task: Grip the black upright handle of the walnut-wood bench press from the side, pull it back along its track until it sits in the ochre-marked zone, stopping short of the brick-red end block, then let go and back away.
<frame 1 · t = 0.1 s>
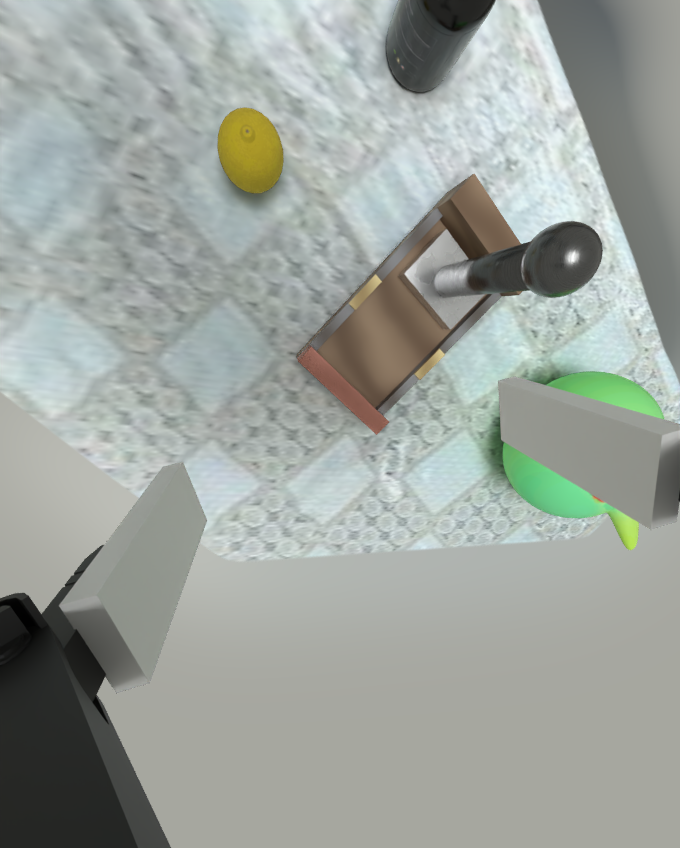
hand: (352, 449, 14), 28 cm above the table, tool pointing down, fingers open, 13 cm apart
toy bird: (539, 428, 49), on the table
supplement bottle: (417, 52, 33), on the table
press handle: (490, 273, 29), point 11 cm above the table, slide at 0.0 cm
press base: (434, 284, 40), on the table
lemon: (254, 172, 34), on the table
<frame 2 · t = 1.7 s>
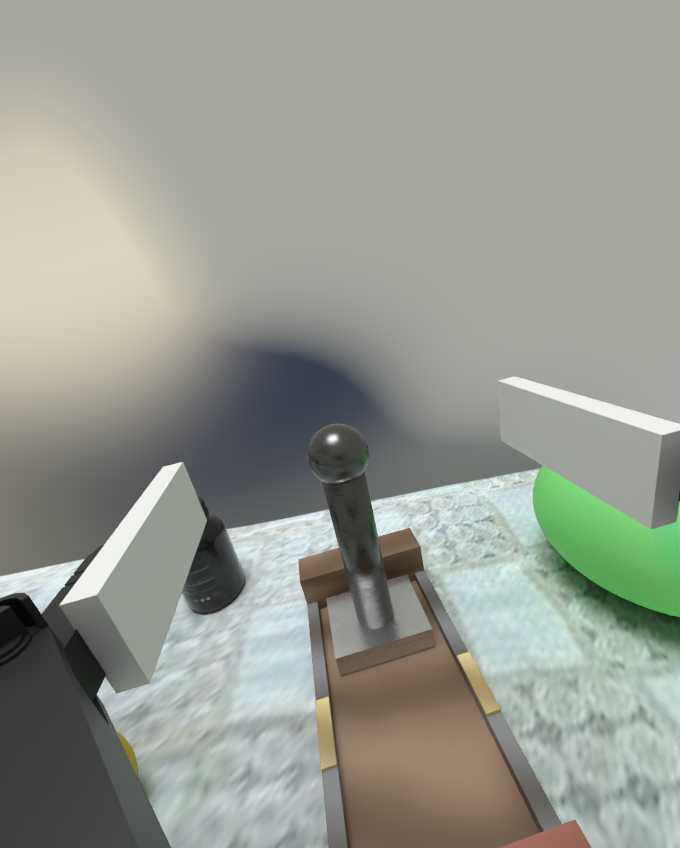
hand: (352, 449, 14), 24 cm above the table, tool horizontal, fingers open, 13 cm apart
toy bird: (645, 572, 32), on the table
supplement bottle: (218, 592, 41), on the table
press handle: (358, 540, 27), point 11 cm above the table, slide at 0.0 cm
press base: (381, 641, 31), on the table
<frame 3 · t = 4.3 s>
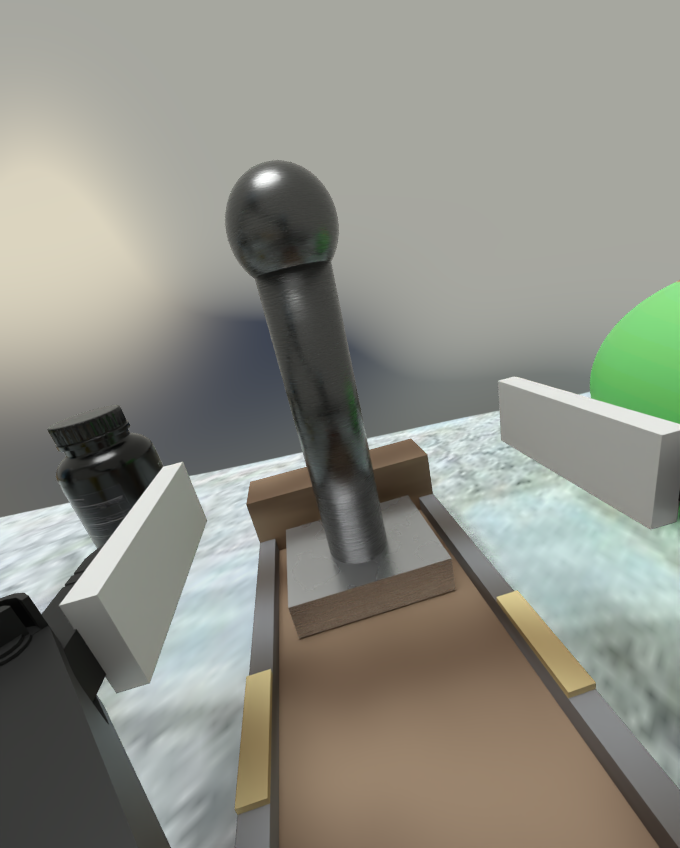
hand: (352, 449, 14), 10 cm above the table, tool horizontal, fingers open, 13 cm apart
supplement bottle: (150, 543, 30), on the table
press handle: (326, 409, 16), point 11 cm above the table, slide at 0.0 cm
press base: (369, 591, 20), on the table
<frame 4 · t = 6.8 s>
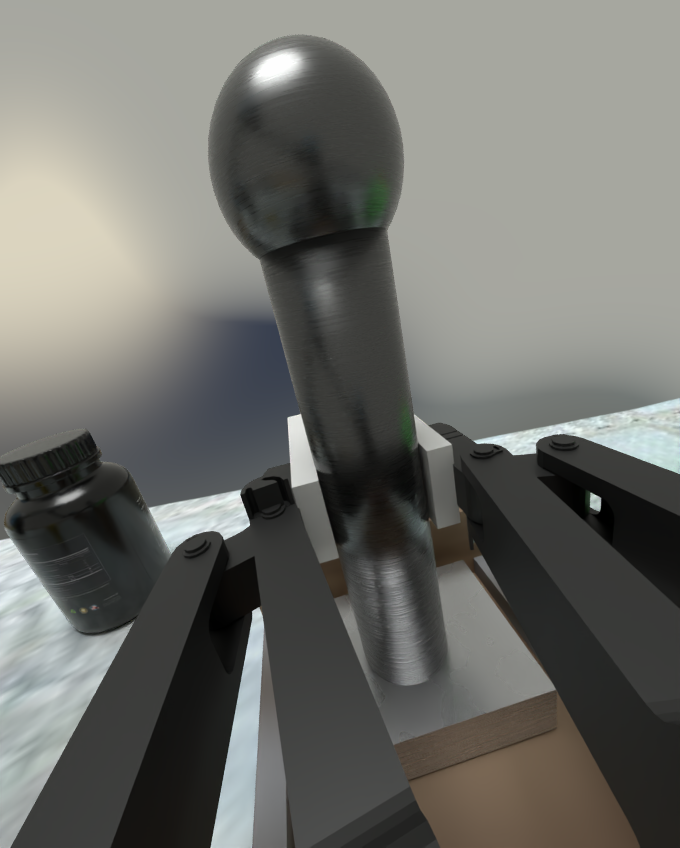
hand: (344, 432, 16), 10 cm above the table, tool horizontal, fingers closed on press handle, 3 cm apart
supplement bottle: (129, 596, 25), on the table
press handle: (367, 463, 11), point 11 cm above the table, slide at 0.0 cm, touching gripper
press base: (416, 701, 15), on the table
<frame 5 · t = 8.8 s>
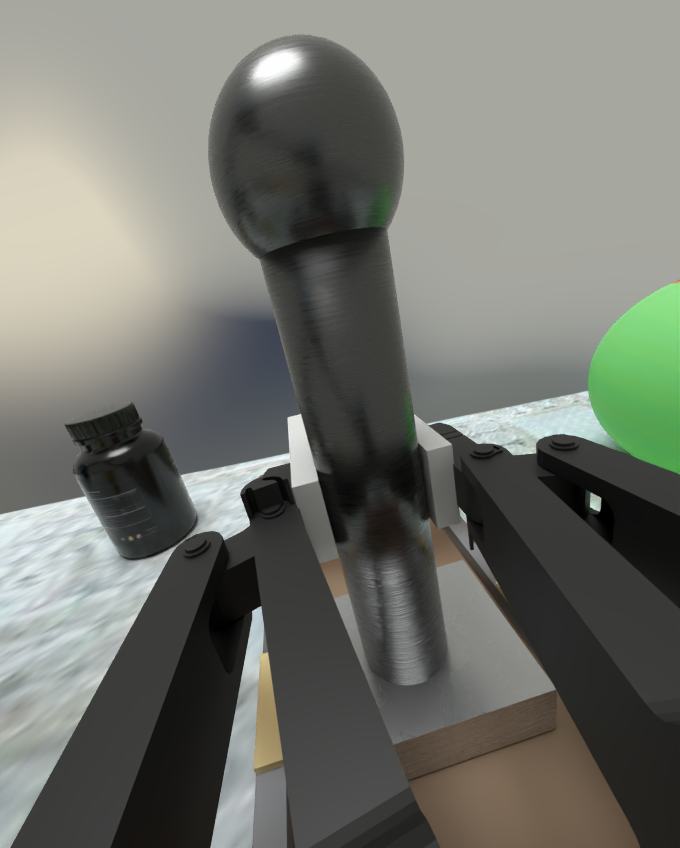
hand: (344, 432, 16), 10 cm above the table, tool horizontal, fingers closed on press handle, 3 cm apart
supplement bottle: (160, 536, 31), on the table
press handle: (367, 463, 11), point 11 cm above the table, slide at 7.0 cm, touching gripper
press base: (374, 579, 21), on the table
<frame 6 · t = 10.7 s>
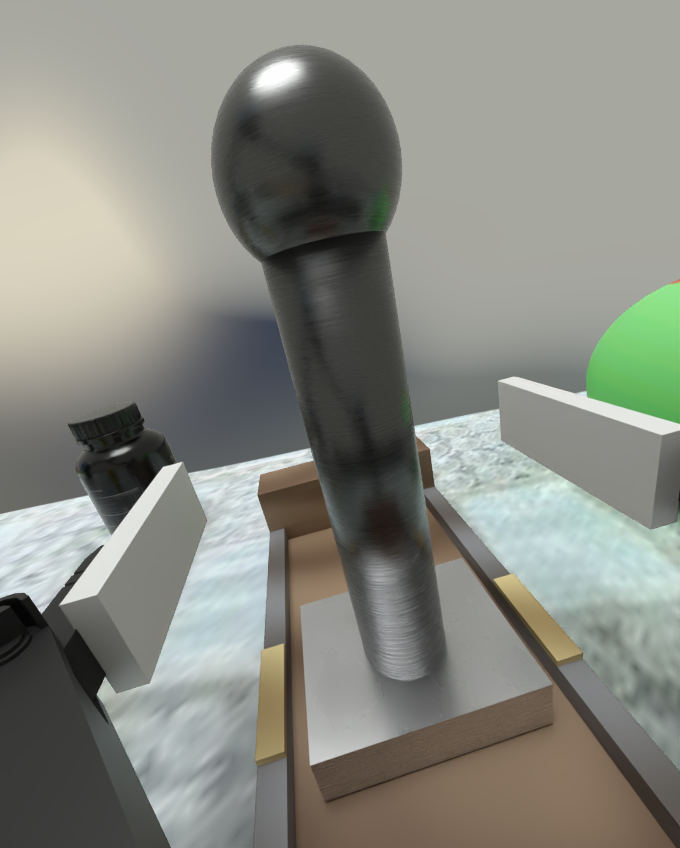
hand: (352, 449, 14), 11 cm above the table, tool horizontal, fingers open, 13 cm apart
supplement bottle: (162, 534, 32), on the table
press handle: (366, 461, 11), point 11 cm above the table, slide at 7.0 cm
press base: (374, 577, 21), on the table
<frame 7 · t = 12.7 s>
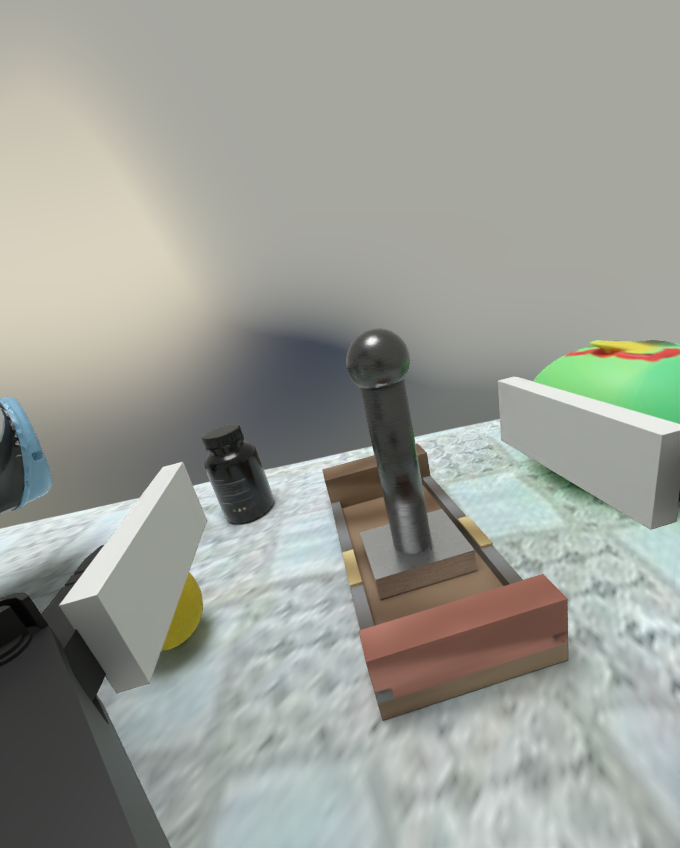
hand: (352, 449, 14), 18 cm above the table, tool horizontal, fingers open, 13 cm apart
toy bird: (621, 470, 38), on the table
supplement bottle: (251, 511, 48), on the table
press handle: (396, 458, 27), point 11 cm above the table, slide at 7.0 cm
press base: (395, 527, 37), on the table
lemon: (183, 642, 29), on the table
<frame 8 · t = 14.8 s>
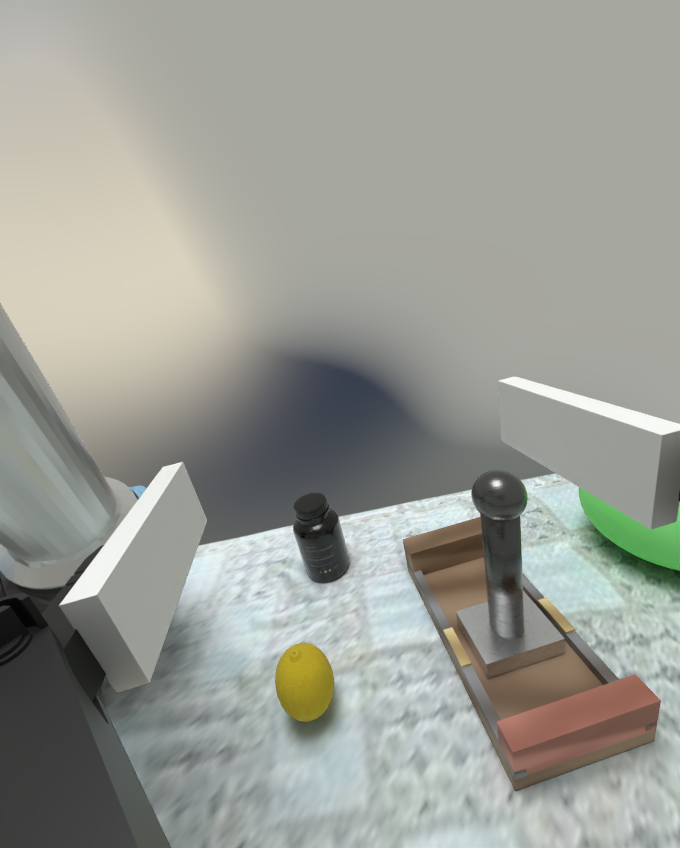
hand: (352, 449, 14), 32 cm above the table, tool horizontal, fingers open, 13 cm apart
toy bird: (664, 547, 44), on the table
supplement bottle: (328, 567, 53), on the table
press handle: (502, 564, 33), point 11 cm above the table, slide at 7.0 cm
press base: (473, 596, 43), on the table
lemon: (315, 708, 35), on the table
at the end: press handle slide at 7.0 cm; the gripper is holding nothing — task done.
